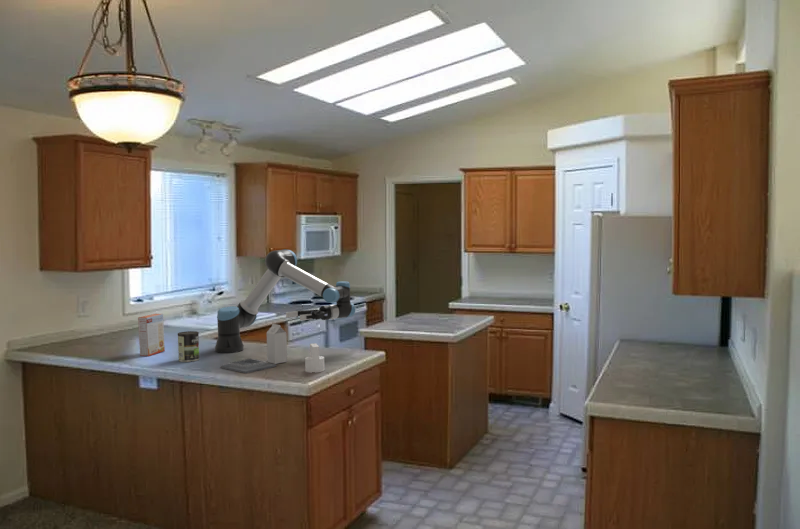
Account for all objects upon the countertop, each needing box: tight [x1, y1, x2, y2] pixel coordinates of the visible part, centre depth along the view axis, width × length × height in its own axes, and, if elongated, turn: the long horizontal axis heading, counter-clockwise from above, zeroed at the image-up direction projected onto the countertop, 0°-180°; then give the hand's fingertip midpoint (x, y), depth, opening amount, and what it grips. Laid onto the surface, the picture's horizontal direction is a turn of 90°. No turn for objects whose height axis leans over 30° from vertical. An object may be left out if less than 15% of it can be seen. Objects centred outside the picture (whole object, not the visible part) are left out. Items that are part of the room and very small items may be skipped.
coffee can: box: [177, 330, 200, 363], centre depth 340 cm, size 10×10×14 cm
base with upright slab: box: [304, 343, 325, 374], centre depth 312 cm, size 9×9×12 cm
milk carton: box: [266, 323, 288, 365], centre depth 331 cm, size 7×7×19 cm
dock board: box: [219, 362, 277, 374], centre depth 321 cm, size 20×18×1 cm
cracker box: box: [137, 313, 166, 357], centre depth 357 cm, size 14×6×21 cm, turn 163°
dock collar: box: [229, 358, 268, 369], centre depth 321 cm, size 12×12×2 cm
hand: (293, 316), depth 336 cm, fingers open, 13 cm apart
